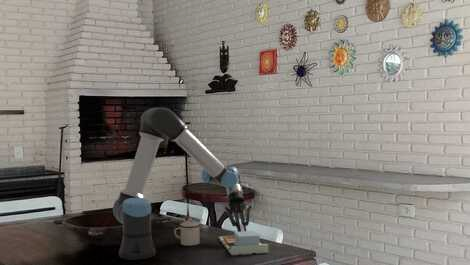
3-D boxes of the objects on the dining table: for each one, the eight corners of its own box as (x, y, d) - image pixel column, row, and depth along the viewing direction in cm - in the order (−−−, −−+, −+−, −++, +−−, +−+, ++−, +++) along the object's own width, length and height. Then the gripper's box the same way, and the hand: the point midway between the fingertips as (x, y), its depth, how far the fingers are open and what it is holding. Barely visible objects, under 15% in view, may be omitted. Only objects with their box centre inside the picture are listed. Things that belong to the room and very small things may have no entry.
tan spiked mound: (170, 228, 267) (170, 203, 267) (178, 224, 277) (178, 200, 276) (197, 229, 263) (196, 204, 262) (203, 225, 272) (203, 201, 272)
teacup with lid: (201, 241, 236) (201, 216, 236) (197, 246, 227) (197, 220, 227) (176, 240, 238) (176, 216, 237) (171, 245, 229) (171, 220, 228)
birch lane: (218, 238, 240) (218, 236, 240) (251, 236, 244) (251, 234, 244) (231, 254, 213) (231, 251, 213) (267, 251, 216) (267, 249, 216)
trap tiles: (224, 239, 239) (224, 238, 239) (247, 237, 242) (247, 237, 242) (227, 243, 232) (227, 242, 232) (251, 241, 234) (251, 241, 234)
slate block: (234, 248, 223) (234, 232, 222) (254, 247, 225) (254, 230, 224) (239, 254, 214) (239, 236, 214) (259, 252, 216) (259, 235, 216)
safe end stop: (231, 254, 213) (231, 246, 213) (267, 251, 216) (267, 243, 216) (231, 255, 212) (231, 246, 212) (268, 252, 215) (268, 244, 215)
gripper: (247, 199, 245) (256, 242, 229) (221, 200, 242) (228, 243, 226) (249, 190, 240) (259, 233, 224) (223, 191, 237) (230, 234, 221)
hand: (243, 238), depth 225 cm, fingers closed
